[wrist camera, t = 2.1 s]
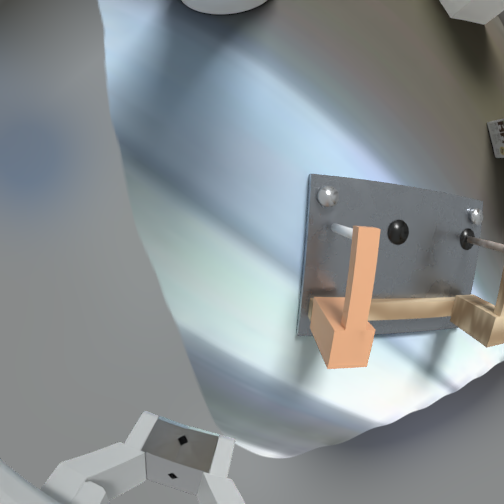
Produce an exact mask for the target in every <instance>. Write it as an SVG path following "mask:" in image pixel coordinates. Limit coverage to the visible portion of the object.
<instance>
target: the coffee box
mask: <svg viewBox="0 0 504 504" xmlns="http://www.w3.org/2000/svg"><path fill="white" fill-rule="evenodd" d="M487 125H488V129H489V133H490V137H491V141H492V145H493V149H494V154H495V157H496V158H504V119H500V120H496V121H491V122H487Z"/></svg>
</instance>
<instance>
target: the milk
mask: <svg viewBox="0 0 504 504" xmlns="http://www.w3.org/2000/svg"><path fill="white" fill-rule="evenodd" d="M439 1H440V2H441V4H442V5H443V7H444V9H445V10H446V12H447V13H448V15H449V16H450V18H454V19H460V20H465V21H470V22H474V23H479V24H483V25H485V24H486V23H487V22H489V21H490V20H491V19H493V18H494V17H495V16H497V15H498V14H499V13H501V12H502V11H504V0H439Z"/></svg>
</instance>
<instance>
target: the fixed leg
mask: <svg viewBox="0 0 504 504" xmlns="http://www.w3.org/2000/svg"><path fill="white" fill-rule="evenodd" d="M467 242H468V243H471V244H474V245H478V246H482V247H485V248H489V249H493V250H496V251H500V252H503V253H504V244H500V243H496V242H492V241H488V240H484V239H479V238H475V237H471V236H468V237H467ZM313 299H314V298H310V302H309V311H308V317H309V319H310V321H311V316H312V308H313ZM446 316H451V318H450V322H452V323H453V324H455V325H456V326H457V327H459V328H460V329H462V330H463V331H465V332H466V333H467V334H469V335H470V336H472V337H473V338H474V339H476V340H477V341H479V342H480V343H481V344H483V345H484V346H485V347H490V346H495V345H499V344H503V343H504V268H503V273H502V279H501V284H500V289H499V293H498V297H497V302H496V306H494V305H493V304H491V303H489V302H487V301H485V300H483V299H481V298H479V297H477V296H475V295H456V297H441V298H393V299H371V304H370V310H369V315H368V321H370V320H398V319H417V318H433V317H446Z"/></svg>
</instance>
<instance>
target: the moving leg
mask: <svg viewBox="0 0 504 504" xmlns="http://www.w3.org/2000/svg"><path fill="white" fill-rule="evenodd" d="M331 230H332V231H333V232H335V233H338V234H340V235H342V236H345V237H347V238H350V239H352V244H351V253H350V263H349V271H348V279H347V287H346V294H345V297H314V299H313V308H312V316H311V324H310V329H311V332H312V334H313V336H314V339H315V341H316V343H317V346H318V348H319V350H320V352H321V355H322V357H323V359H324V362H325V364H326V367H327V369H336V368H354V367H367V363H368V359H369V355H370V351H371V347H372V343H373V338H374V334H375V329H374V327H373V326H372V325H371V324H370V323H369V322H368V315H369V310H370V304H371V298H372V292H373V286H374V279H375V272H376V265H377V257H378V248H379V239H380V229H379V228H375V227H366V226H353V229H352V228H349V227H346V226H343V225H339V224H336V223H334V224H332V225H331Z"/></svg>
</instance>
